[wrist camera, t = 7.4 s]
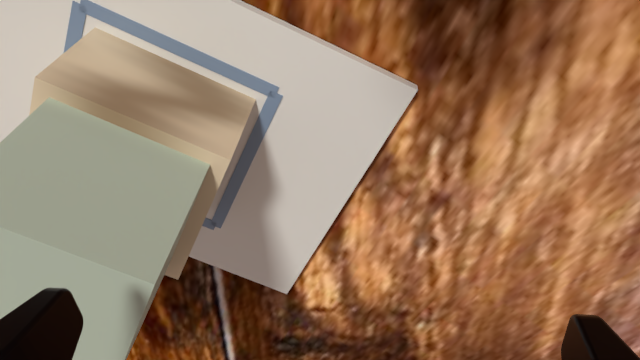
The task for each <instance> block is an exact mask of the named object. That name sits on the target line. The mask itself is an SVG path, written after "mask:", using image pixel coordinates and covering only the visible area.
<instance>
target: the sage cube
mask: <svg viewBox="0 0 640 360" xmlns="http://www.w3.org/2000/svg"><path fill="white" fill-rule="evenodd" d="M209 166H210V164H208V163H205V162H203V161H200V160H198V159H196V158H193V157H191V156H188V155H186V154H184V153H181V152H179V151H176V150H174V149H172V148H169V147H167V146H165V145H162V144H160V143H157V142H155V141H153V140H150V139H148V138H145V137H143V136H141V135H138V134H136V133H133V132H131V131H129V130H126V129H124V128H122V127H119V126H117V125H114V124H112V123H110V122H107V121H105V120H102V119H100V118H98V117H95V116H93V115H90V114H88V113H86V112H83V111H81V110H79V109H76V108H74V107H71V106H69V105H67V104H64V103H62V102H59V101H57V100H55V99H52V98H50V97H49V98H48V99H47V100H46V101H45V102H43V103H42V104H41V105H40V106H39V107H38V108H37V109H36V110H35V111H34V112H33V113H32V114H30V115H29V116H28V117H27V118H26V119H25V120H24V121H23V122H22V123H21V124H20V125H19V126H17V127H16V128H15V129H14V130H13V131H12V132H11V133H10V134H9V135H8V136H7V137H6V138H4V139H3V140H2V141H1V142H0V319H1V318H3V317H4V316H5V315H7V314H8V313H10V312H11V311H13V310H14V309H16V308H17V307H18V306H20V305H21V304H23V303H24V302H26V301H27V300H29V299H30V298H31V297H33V296H34V295H36V294H37V293H39V292H40V291H42V290H43V289H46V288H66V289H68V290H69V291H71V293H72V295H73V297H74V299H75V301H76V303H77V305H78V307H79V309H80V311H81V313H82V316H83V329H82V332H81V335H80V338H79V341H78V344H77V347H76V350H75V353H74V356H73V358H72V360H126V359H127V357H128V354H129V352H130V350H131V348H132V345H133V343H134V341H135V339H136V337H137V334H138V332H139V330H140V328H141V326H142V323H143V321H144V319H145V317H146V314H147V312H148V310H149V308H150V306H151V303H152V301H153V299H154V297H155V294H156V292H157V290H158V288H159V286H160V283H161V281H162V279H163V277H164V275H165V272H166V270H167V268H168V266H169V263H170V261H171V258H172V256H173V254H174V251H175V249H176V246H177V244H178V241H179V239H180V237H181V234H182V232H183V229H184V227H185V224H186V222H187V220H188V217H189V215H190V212H191V210H192V207H193V205H194V203H195V200H196V198H197V195H198V193H199V190H200V188H201V186H202V183H203V181H204V178H205V176H206V174H207V171H208V169H209Z"/></svg>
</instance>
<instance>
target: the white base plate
mask: <svg viewBox="0 0 640 360" xmlns="http://www.w3.org/2000/svg"><path fill="white" fill-rule="evenodd" d="M94 28H98V29H100V30H102V31H104V32H107V33H109V34H111V35H113V36H115V37H118V38H120V39H122V40H124V41H127V42H129V43H131V44H133V45H136V46H138V47H140V48H142V49H144V50H147V51H149V52H151V53H153V54H156V55H158V56H160V57H162V58H165V59H167V60H169V61H171V62H173V63H176V64H178V65H180V66H182V67H185V68H187V69H189V70H191V71H194V72H196V73H198V74H200V75H202V76H205V77H207V78H209V79H211V80H214V81H216V82H218V83H220V84H222V85H225V86H227V87H229V88H231V89H234V90H236V91H238V92H240V93H243V94H245V95H247V96H249V97H251V98H254V99H256V100H255V103H254V105H253V107H252V110H251V112H250V115H249V117H248V120H247V122H246V124H245V127H244V129H243V132H242V134H241V137H240V139H239V142H238V144H237V146H236V149H235V151H234V154H233V156H232V159H231V161H230V163H229V165H228V168H227V170H226V172H225V175H224V177H223V179H222V181H221V184H220V186H219V188H218V190H217V193H216V195H215V197H214V200H213V202H212V204H211V206H210V209H209V211H208V213H207V215H206V218H205V220H204V222H203V225H202V227H201V229H200V231H199V234H198V236H197V238H196V241H195V243H194V245H193V247H192V250H191V252H190V254H189V257H191V258H194V259H197V260H199V261H202V262H204V263H207V264H210V265H212V266H215V267H217V268H220V269H223V270H225V271H228V272H230V273H233V274H236V275H238V276H241V277H243V278H246V279H249V280H251V281H254V282H256V283H259V284H262V285H264V286H267V287H269V288H272V289H275V290H277V291H280V292H282V293H285V294H287V293H288V292H289V290H290V289H291V287H292V286H293V284H294V282H295V281H296V279H297V278H298V276H299V275H300V273H301V272H302V270H303V268H304V267H305V265H306V264H307V262H308V261H309V259H310V258H311V256H312V254H313V253H314V251H315V250H316V248H317V247H318V245H319V244H320V242H321V240H322V239H323V237H324V236H325V234H326V233H327V231H328V229H329V228H330V226H331V225H332V223H333V222H334V220H335V219H336V217H337V215H338V214H339V212H340V211H341V209H342V208H343V206H344V205H345V203H346V201H347V200H348V198H349V197H350V195H351V194H352V192H353V191H354V189H355V187H356V186H357V184H358V183H359V181H360V180H361V178H362V177H363V175H364V173H365V172H366V170H367V169H368V167H369V166H370V164H371V163H372V161H373V159H374V158H375V156H376V155H377V153H378V152H379V150H380V148H381V147H382V145H383V144H384V142H385V141H386V139H387V138H388V136H389V134H390V133H391V131H392V130H393V128H394V127H395V125H396V124H397V122H398V120H399V119H400V117H401V116H402V114H403V113H404V111H405V110H406V108H407V106H408V105H409V103H410V102H411V100H412V99H413V97H414V96H415V94H416V92H417V91H418V87H417V85H416V84H414V83H412V82H410V81H408V80H405V79H403V78H401V77H399V76H397V75H395V74H393V73H391V72H389V71H387V70H385V69H383V68H380V67H378V66H376V65H374V64H372V63H370V62H368V61H366V60H364V59H362V58H360V57H358V56H356V55H353V54H351V53H349V52H347V51H345V50H343V49H341V48H339V47H337V46H335V45H333V44H331V43H328V42H326V41H324V40H322V39H320V38H318V37H316V36H314V35H312V34H310V33H308V32H306V31H303V30H301V29H299V28H297V27H295V26H293V25H291V24H289V23H287V22H285V21H283V20H281V19H279V18H276V17H274V16H272V15H270V14H268V13H266V12H264V11H262V10H260V9H258V8H256V7H254V6H251V5H249V4H247V3H245V2H243V1H241V0H0V142H1V141H2V140H3V139H4V138H6V137H7V136H8V135H9V134H10V133H11V132H12V131H13V130H14V129H15V128H16V127H17V126H19V125H20V124H21V123H22V122H23V121H24V120H25V119H26V118H27V117H28V116H29V113H30V106H31V100H32V93H33V86H34V79H35V77H36V76H37V75H38V74H39V73H40V72H42V71H43V70H44V69H45V68H46V67H48V66H49V65H50V64H51V63H52V62H54V61H55V60H56V59H57V58H58V57H60V56H61V55H62V54H63V53H65V52H66V51H67V50H68V49H69V48H71V47H72V46H73V45H74V44H75V43H77V42H78V41H79V40H80V39H81V38H83V37H84V36H85V35H86V34H87V33H89V32H90V31H91V30H92V29H94Z"/></svg>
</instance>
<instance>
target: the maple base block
mask: <svg viewBox="0 0 640 360" xmlns="http://www.w3.org/2000/svg"><path fill="white" fill-rule="evenodd" d="M49 97H50V98H52V99H55V100H57V101H59V102H62V103H64V104H67V105H69V106H71V107H74V108H76V109H79V110H81V111H83V112H86V113H88V114H90V115H93V116H95V117H98V118H100V119H102V120H105V121H107V122H110V123H112V124H114V125H117V126H119V127H122V128H124V129H126V130H129V131H131V132H133V133H136V134H138V135H141V136H143V137H145V138H148V139H150V140H153V141H155V142H157V143H160V144H162V145H165V146H167V147H169V148H172V149H174V150H176V151H179V152H181V153H184V154H186V155H188V156H191V157H193V158H196V159H198V160H200V161H203V162H205V163H208V164H210V166H209V169H208V171H207V174H206V176H205V178H204V181H203V183H202V186H201V188H200V190H199V193H198V195H197V198H196V200H195V203H194V205H193V207H192V210H191V212H190V215H189V217H188V220H187V222H186V224H185V227H184V229H183V232H182V234H181V237H180V239H179V241H178V244H177V246H176V249H175V251H174V254H173V256H172V258H171V261H170V263H169V266H168V268H167V270H166V272H165V275H166V276H169V277H172V278H174V279H177V280H178V279H179V277H180V275H181V272H182V270H183V268H184V266H185V263H186V261H187V259H188V256H189V254H190V252H191V250H192V247H193V245H194V243H195V241H196V238H197V236H198V234H199V231H200V229H201V227H202V225H203V222H204V220H205V218H206V215H207V213H208V211H209V209H210V206H211V204H212V202H213V200H214V197H215V195H216V193H217V190H218V188H219V186H220V184H221V181H222V179H223V177H224V175H225V172H226V170H227V168H228V165H229V163H230V161H231V159H232V156H233V154H234V151H235V149H236V146H237V144H238V142H239V139H240V137H241V134H242V132H243V129H244V127H245V124H246V122H247V120H248V117H249V115H250V112H251V110H252V107H253V105H254V103H255V100H256V99H254V98H251V97H249V96H247V95H245V94H243V93H240V92H238V91H236V90H234V89H231V88H229V87H227V86H225V85H222V84H220V83H218V82H216V81H214V80H211V79H209V78H207V77H205V76H202V75H200V74H198V73H196V72H194V71H191V70H189V69H187V68H185V67H182V66H180V65H178V64H176V63H173V62H171V61H169V60H167V59H165V58H162V57H160V56H158V55H156V54H153V53H151V52H149V51H147V50H144V49H142V48H140V47H138V46H136V45H133V44H131V43H129V42H127V41H124V40H122V39H120V38H118V37H115V36H113V35H111V34H109V33H107V32H104V31H102V30H100V29H98V28H94V29H92V30H91V31H90V32H89V33H87V34H86V35H85V36H84V37H83V38H81V39H80V40H79V41H78V42H77V43H75V44H74V45H73V46H72V47H71V48H69V49H68V50H67V51H66V52H65V53H63V54H62V55H61V56H60V57H58V58H57V59H56V60H55V61H54V62H52V63H51V64H50V65H49V66H48V67H46V68H45V69H44V70H43V71H42V72H40V73H39V74H38V75H37V76H36V77H35V79H34V86H33V93H32V100H31V106H30V113H29V115H30V114H32V113H33V112H34V111H35V110H36V109H37V108H38V107H39V106H40V105H41V104H42V103H43V102H45V101H46V100H47V99H48V98H49Z"/></svg>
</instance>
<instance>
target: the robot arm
mask: <svg viewBox="0 0 640 360" xmlns="http://www.w3.org/2000/svg"><path fill="white" fill-rule="evenodd" d="M82 329H83V316H82V313H81V311H80V309H79V307H78V305H77V303H76V301H75V299H74V297H73V295H72V293H71V291H69V290H68V289H66V288H46V289H43V290H42V291H40V292H39V293H37V294H36V295H34V296H33V297H31V298H30V299H29V300H27V301H26V302H24V303H23V304H21V305H20V306H18V307H17V308H16V309H14V310H13V311H11V312H10V313H8V314H7V315H5V316H4V317H3V318H1V319H0V360H72V358H73V356H74V353H75V350H76V347H77V344H78V341H79V338H80V335H81V332H82ZM561 358H562V360H640V358H639V357H638V356H637V355H636V354H635V353H634V352H633V351H632V350H631V349H630V347H629V346H628V345H627V344H626V343H625V342H624V341H623V340H622V339H621V338H620V337H619V336H618V335H617V334H616V333H615V332H614V331H613V330H612V329H611V328H610V326H609V325H608V324H607V323H606V322H605V321H604V320H603V319H602V318H600V317H599V316H596V315H583V314H575V315H572V316H571V318H570V320H569V323H568V326H567V330H566V333H565V336H564V339H563V343H562V348H561Z"/></svg>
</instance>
